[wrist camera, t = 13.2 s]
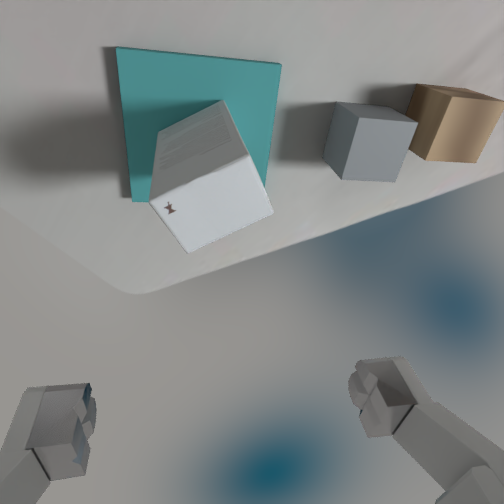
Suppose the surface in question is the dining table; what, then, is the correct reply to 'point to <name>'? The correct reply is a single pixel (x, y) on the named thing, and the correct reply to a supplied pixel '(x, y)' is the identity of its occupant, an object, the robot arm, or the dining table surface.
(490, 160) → the dining table surface
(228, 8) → the dining table surface
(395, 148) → the slate grey block
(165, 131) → the skincare box
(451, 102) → the light brown wooden cube
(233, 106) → the teal mat
